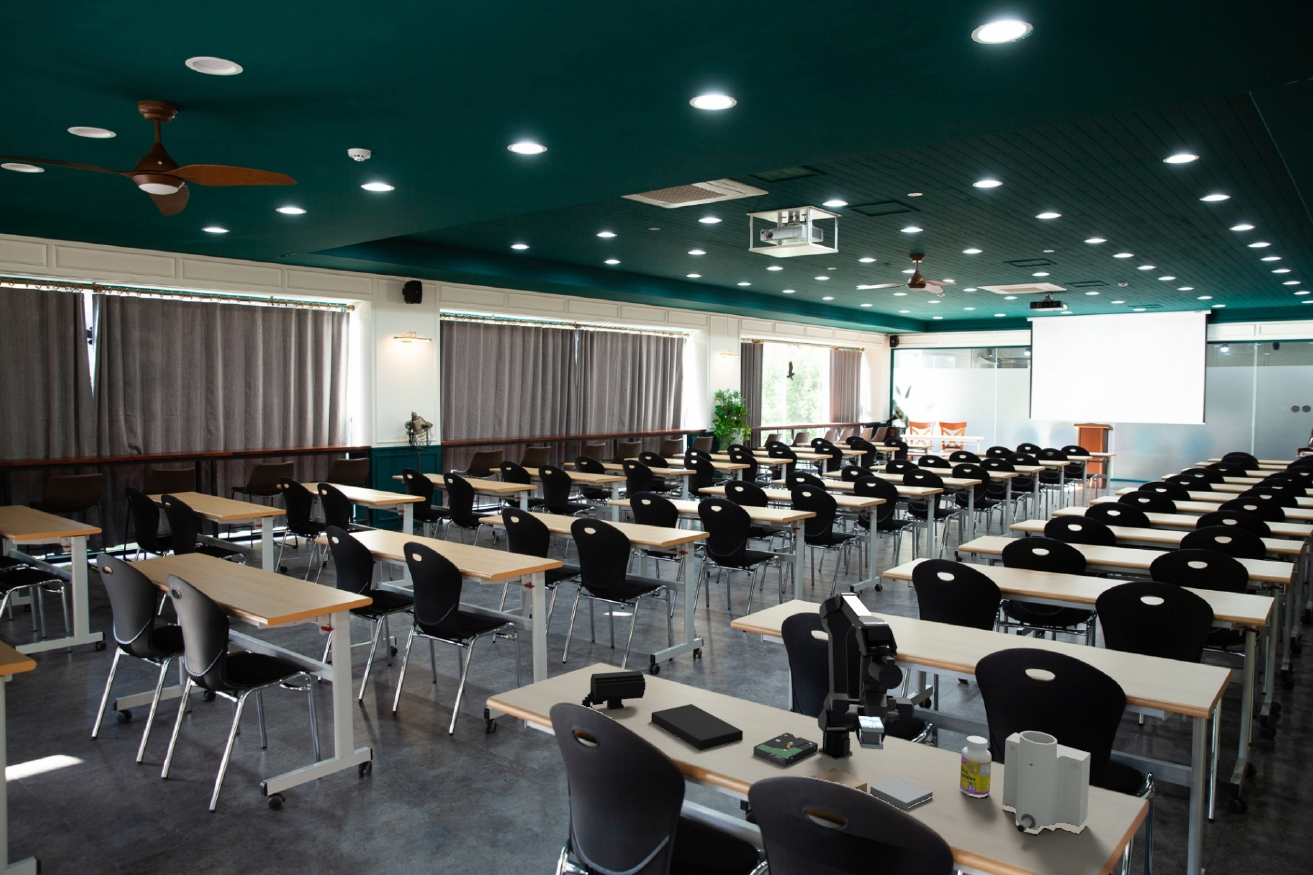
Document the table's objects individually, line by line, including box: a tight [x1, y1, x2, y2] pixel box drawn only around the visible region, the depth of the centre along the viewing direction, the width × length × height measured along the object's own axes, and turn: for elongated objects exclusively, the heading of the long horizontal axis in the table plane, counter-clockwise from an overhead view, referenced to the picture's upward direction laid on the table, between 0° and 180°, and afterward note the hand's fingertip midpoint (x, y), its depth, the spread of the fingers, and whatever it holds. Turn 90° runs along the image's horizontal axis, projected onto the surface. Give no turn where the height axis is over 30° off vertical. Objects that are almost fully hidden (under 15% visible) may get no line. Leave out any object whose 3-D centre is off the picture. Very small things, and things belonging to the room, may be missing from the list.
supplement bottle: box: [959, 735, 992, 795], centre depth 201 cm, size 7×7×13 cm
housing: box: [858, 715, 884, 751], centre depth 200 cm, size 7×5×5 cm
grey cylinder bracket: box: [1002, 730, 1091, 834], centre depth 185 cm, size 16×19×20 cm
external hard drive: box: [650, 703, 744, 751], centre depth 235 cm, size 14×23×3 cm, turn 34°
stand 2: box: [869, 775, 934, 810], centre depth 199 cm, size 10×10×2 cm
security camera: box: [581, 670, 647, 711], centre depth 250 cm, size 7×18×10 cm, turn 107°
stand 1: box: [811, 767, 868, 792], centre depth 202 cm, size 10×8×2 cm
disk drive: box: [753, 732, 819, 768], centre depth 221 cm, size 10×3×15 cm
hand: (870, 740), depth 200 cm, fingers closed on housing, 5 cm apart
